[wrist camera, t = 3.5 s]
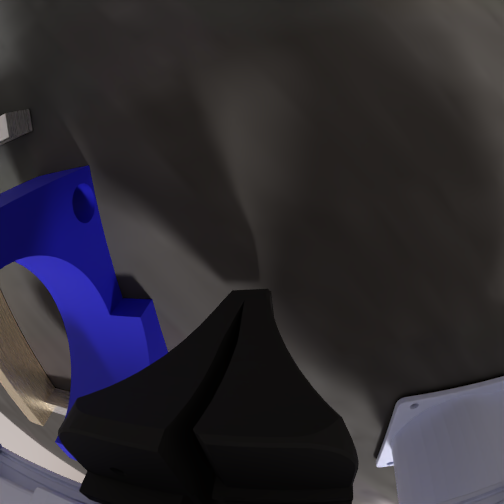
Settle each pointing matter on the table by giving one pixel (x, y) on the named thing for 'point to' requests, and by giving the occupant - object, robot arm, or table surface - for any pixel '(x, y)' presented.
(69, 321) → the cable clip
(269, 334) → the robot arm
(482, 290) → the table surface
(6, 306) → the frame
